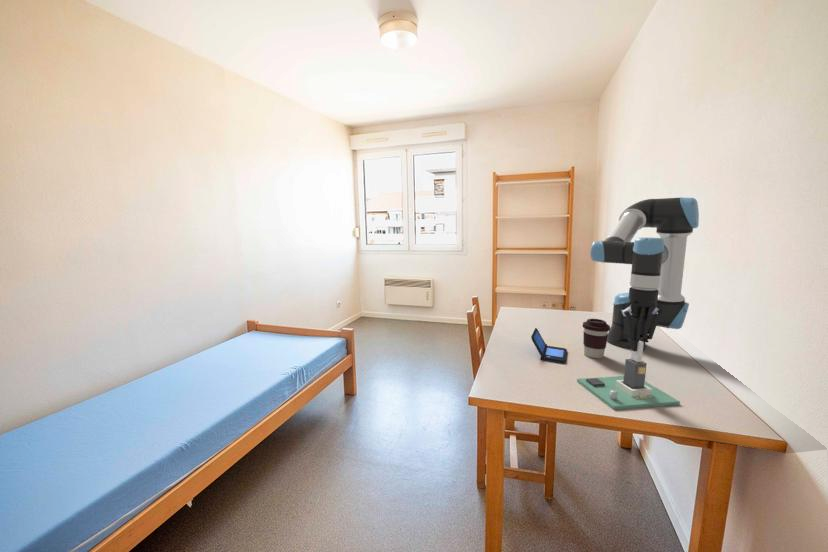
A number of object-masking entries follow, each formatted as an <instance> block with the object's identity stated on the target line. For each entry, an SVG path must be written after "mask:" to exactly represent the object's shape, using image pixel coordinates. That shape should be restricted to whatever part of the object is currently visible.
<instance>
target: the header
mask: <svg viewBox="0 0 828 552" xmlns="http://www.w3.org/2000/svg"><path fill="white" fill-rule="evenodd" d="M615 386H616V387H618V388H619V389H621V390H622V391H624V392H625V393H627V394H628V395H630V396H631V397H633V396H639V397H644V396H647V395H652V389H651V388H649V387H648V386H646V385H644V388H643V389H631V388H630V387H628V386H626V385H625V384H623V380H616V385H615Z"/></svg>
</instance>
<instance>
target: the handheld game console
mask: <svg viewBox="0 0 828 552" xmlns="http://www.w3.org/2000/svg"><path fill="white" fill-rule="evenodd" d="M530 336H531V338H530V339H531V341H532V343H533V345H534V346H535V348H536V350H537V352H538V354H539V355H540V360H541V361H547V362H553V363H559V364H565V363H566V360H567V352H568V351H567V350H568V349H567V348H565V347H559V346H553V345H552V346H551V345H548V344H547V343H546V342H545V340H544V338H543V337H542V335H541V333H540V331H539V329H538V328H537V327H535V328H534V331H533V332H532V334H531V335H530Z"/></svg>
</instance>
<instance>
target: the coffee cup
mask: <svg viewBox="0 0 828 552" xmlns="http://www.w3.org/2000/svg"><path fill="white" fill-rule="evenodd" d="M582 328H583V341H582V342H583V353H584V355H585V356H586V357H588V358H592V359H602V358H604V355H605V350H606V348H607V343H608V342H607V337H608V332H609V330H610V328H611V325H610V324H607V321H605V320H603V319H599V318H588V319H587V320H586V321H583V322H582Z"/></svg>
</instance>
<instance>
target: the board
mask: <svg viewBox="0 0 828 552" xmlns="http://www.w3.org/2000/svg"><path fill="white" fill-rule="evenodd" d="M616 380H624V375H621V376H620V375H617V376H602V377H601V376H599V377H586V378H577V379H576V382H577V383H578V384H580V385H581V386H582V387H584V388H585V389H586V390H587V391H589V392H590V393H591V394H592V395H594V396H595V397H597V399H599V400H600V401H602V402H603V403H604V404H606V406H608V407H609V408H611V410H624V409H626V410H627V409H637V407H639V408H649V407H650V406H653V407H664V406H665V405H666V406H679V405H680V404H681V403H680V402H681V401H680V400H678V399H676V398H675V397H673V396H671V395H670V394H667V393H666V392H664V391H663V390H661V389H659V388H658V387H656V386H654V385H653V384H651V383H648V382H647V381H645V383H644V385H646V386H648V387H649V388H651V389H652V395H647V396H644V397H639V396H633V397H631V396H630V395H628V394H627V393H625V392H624V391H622V390H621V389H619V388H618V387H616V386H615V385H616ZM666 406H665V407H666ZM650 408H651V407H650Z"/></svg>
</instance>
